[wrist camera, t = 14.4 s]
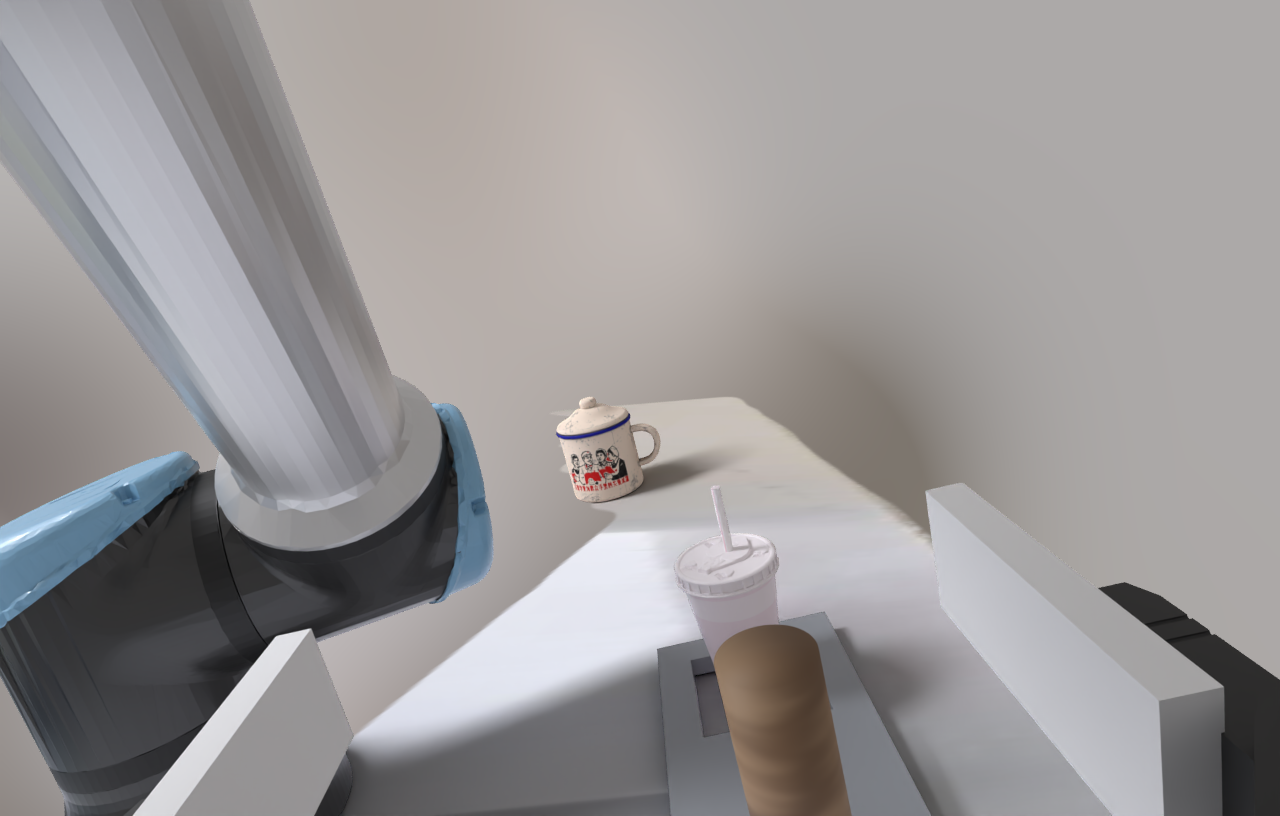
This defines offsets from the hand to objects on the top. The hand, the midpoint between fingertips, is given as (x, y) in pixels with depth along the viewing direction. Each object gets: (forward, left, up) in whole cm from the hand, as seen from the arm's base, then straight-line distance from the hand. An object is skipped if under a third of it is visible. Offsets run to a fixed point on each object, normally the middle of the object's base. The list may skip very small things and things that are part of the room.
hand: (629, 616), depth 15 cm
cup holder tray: (+3, +20, -22) cm, 30 cm away
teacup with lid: (-6, +70, -22) cm, 74 cm away
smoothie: (+3, +27, -22) cm, 35 cm away
